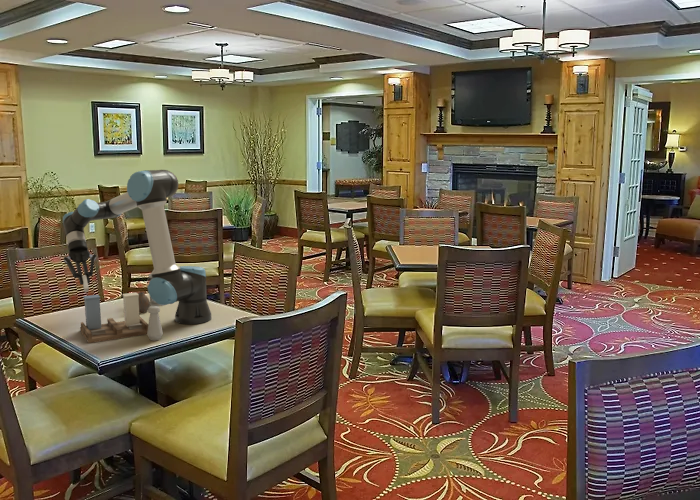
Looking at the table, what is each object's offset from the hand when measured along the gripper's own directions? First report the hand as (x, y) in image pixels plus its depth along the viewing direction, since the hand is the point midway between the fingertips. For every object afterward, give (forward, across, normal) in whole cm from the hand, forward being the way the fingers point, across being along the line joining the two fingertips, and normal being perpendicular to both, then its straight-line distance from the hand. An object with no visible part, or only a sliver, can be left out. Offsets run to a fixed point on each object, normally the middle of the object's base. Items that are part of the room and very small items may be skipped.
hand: (86, 290), depth 256 cm
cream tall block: (+20, -14, +1) cm, 25 cm away
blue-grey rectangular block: (+17, 0, -1) cm, 17 cm away
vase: (+4, -24, -17) cm, 30 cm away
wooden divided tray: (+22, -7, +1) cm, 23 cm away
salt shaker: (+34, -18, +13) cm, 41 cm away
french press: (-4, -34, -25) cm, 42 cm away
